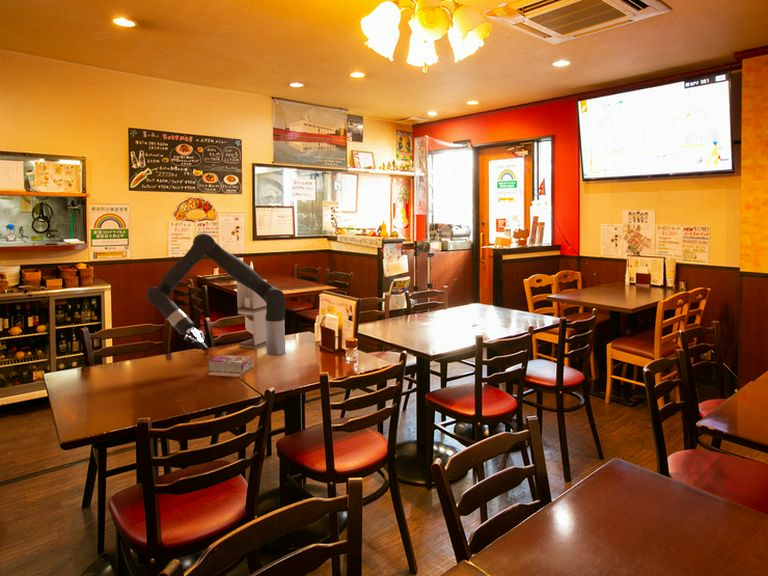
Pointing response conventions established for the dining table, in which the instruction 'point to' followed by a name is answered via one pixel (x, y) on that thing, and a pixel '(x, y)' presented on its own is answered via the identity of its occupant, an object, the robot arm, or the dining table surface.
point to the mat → (227, 373)
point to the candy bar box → (231, 364)
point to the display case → (252, 316)
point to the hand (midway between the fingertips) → (206, 349)
